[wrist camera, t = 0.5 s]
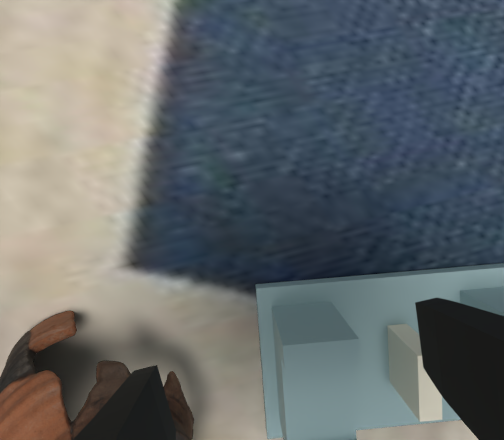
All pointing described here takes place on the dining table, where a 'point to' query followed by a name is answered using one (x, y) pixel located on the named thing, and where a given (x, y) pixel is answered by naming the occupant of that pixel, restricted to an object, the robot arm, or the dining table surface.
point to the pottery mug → (50, 390)
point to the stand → (357, 349)
